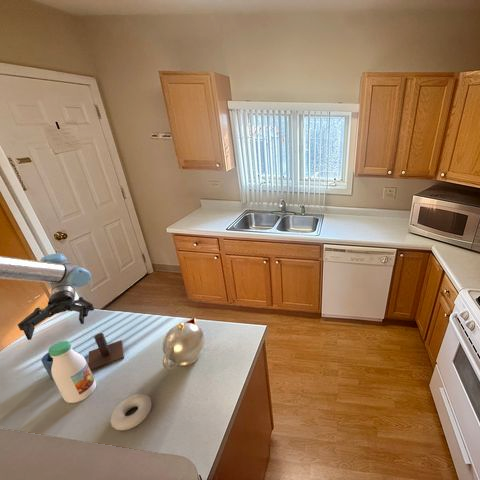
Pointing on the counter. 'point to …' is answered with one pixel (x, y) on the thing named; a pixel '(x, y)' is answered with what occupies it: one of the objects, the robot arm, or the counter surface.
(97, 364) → the post stand
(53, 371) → the milk bottle
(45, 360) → the ring sleeve
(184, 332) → the teapot
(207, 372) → the counter surface
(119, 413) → the donut
